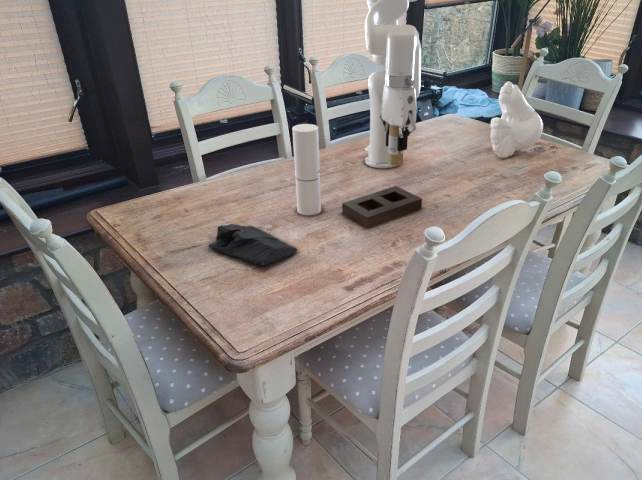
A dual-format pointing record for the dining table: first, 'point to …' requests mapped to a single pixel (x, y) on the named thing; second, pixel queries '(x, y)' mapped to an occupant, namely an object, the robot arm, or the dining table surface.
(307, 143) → the cylindrical container
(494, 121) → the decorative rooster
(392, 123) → the sprinkles bottle
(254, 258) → the folded black cloth
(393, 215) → the peg block
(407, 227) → the dining table surface
